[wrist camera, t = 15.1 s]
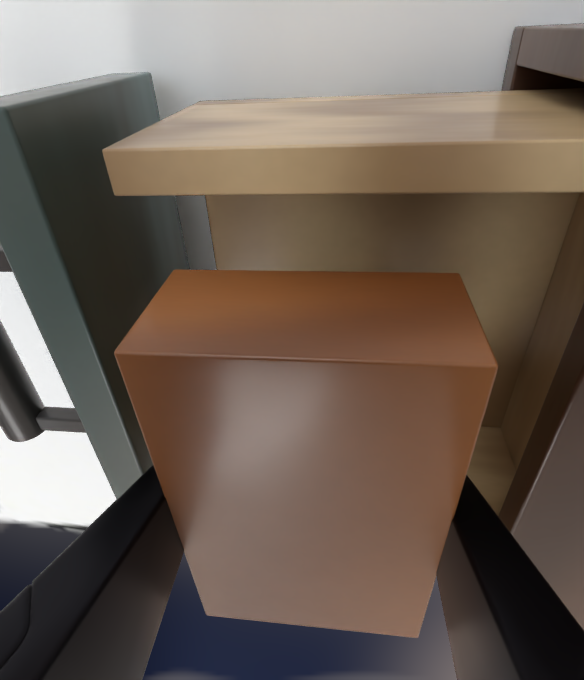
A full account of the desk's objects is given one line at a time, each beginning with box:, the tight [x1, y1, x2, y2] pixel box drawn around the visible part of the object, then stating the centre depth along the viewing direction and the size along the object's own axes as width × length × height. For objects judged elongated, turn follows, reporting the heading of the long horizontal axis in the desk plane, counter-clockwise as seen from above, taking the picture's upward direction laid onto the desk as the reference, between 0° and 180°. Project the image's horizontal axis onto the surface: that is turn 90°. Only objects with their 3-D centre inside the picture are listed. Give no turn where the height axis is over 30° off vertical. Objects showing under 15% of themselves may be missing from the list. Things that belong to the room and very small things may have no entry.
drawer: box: [0, 72, 584, 516], centre depth 13 cm, size 18×13×6 cm
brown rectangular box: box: [114, 269, 499, 638], centre depth 9 cm, size 5×8×2 cm, turn 2°
